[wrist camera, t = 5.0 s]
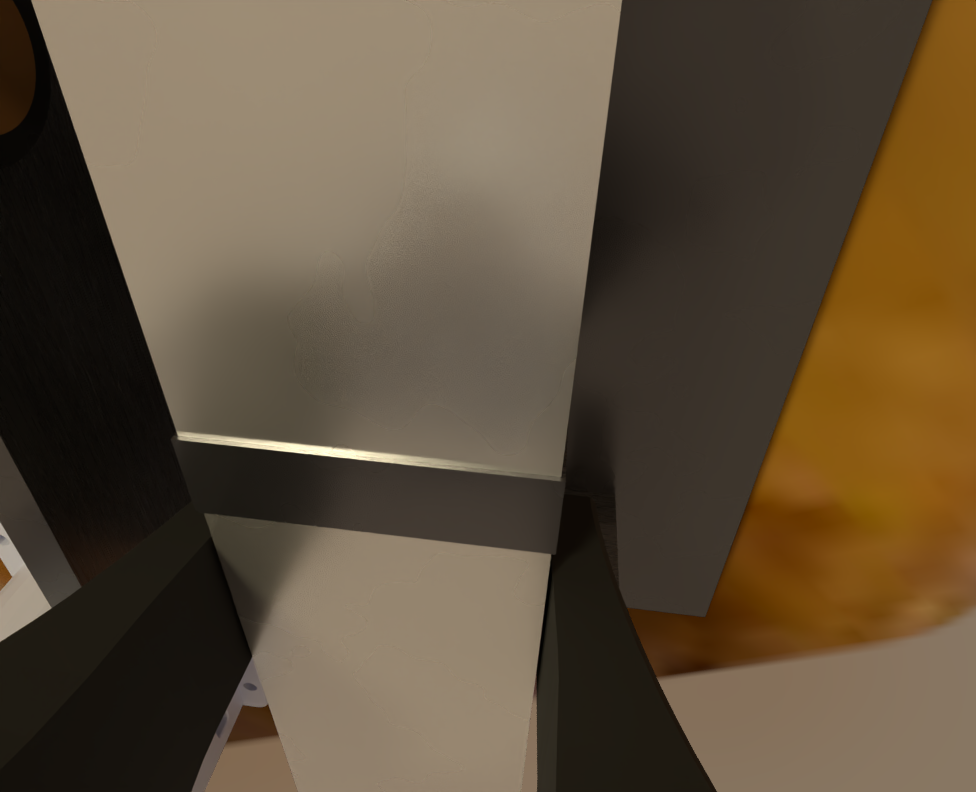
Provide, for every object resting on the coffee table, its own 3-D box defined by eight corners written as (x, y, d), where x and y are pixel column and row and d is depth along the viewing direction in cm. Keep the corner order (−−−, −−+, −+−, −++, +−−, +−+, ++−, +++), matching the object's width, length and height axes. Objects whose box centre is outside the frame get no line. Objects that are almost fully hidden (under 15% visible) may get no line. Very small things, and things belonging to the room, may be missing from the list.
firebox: (700, 588, 19) (733, 788, 15) (209, 529, 20) (105, 697, 16) (1093, -547, 7) (1858, -1258, 3) (-133, -517, 9) (-895, -973, 4)
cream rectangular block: (525, 707, 18) (509, 896, 15) (370, 685, 19) (318, 865, 15) (647, -332, 7) (714, -623, 3) (215, -333, 7) (-187, -590, 3)
